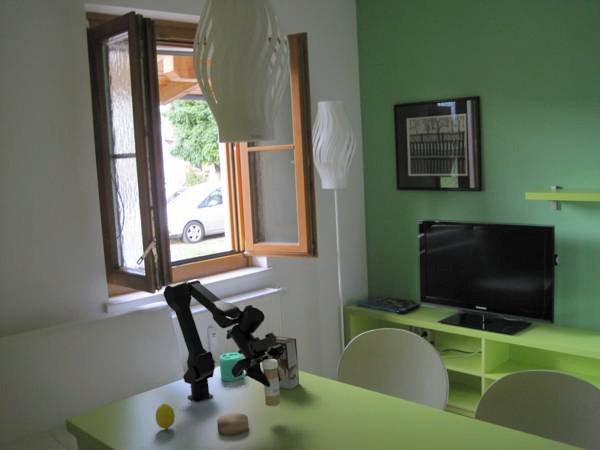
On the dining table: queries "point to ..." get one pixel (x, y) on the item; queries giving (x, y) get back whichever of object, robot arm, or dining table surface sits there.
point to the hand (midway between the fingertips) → (274, 383)
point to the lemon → (165, 416)
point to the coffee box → (287, 363)
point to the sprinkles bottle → (271, 382)
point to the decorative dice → (229, 366)
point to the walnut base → (232, 424)
